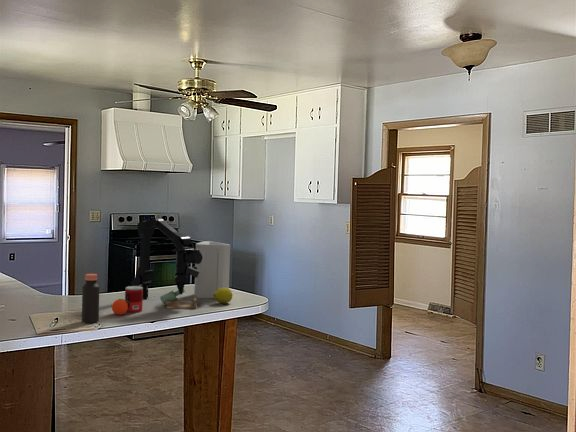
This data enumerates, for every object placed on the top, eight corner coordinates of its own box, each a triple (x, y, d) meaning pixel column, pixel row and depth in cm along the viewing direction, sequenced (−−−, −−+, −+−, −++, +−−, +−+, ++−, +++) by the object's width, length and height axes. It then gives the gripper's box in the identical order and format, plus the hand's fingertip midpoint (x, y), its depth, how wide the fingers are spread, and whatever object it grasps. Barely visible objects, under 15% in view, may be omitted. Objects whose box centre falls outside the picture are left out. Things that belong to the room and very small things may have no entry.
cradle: (166, 308, 282) (166, 300, 282) (166, 303, 295) (167, 295, 295) (196, 308, 285) (196, 300, 284) (195, 303, 297) (196, 295, 297)
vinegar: (96, 323, 248) (97, 276, 247) (79, 323, 247) (80, 275, 246) (100, 320, 254) (101, 273, 253) (84, 319, 254) (85, 273, 253)
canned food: (145, 310, 277) (146, 286, 276) (135, 313, 269) (136, 289, 269) (131, 308, 279) (132, 285, 279) (121, 311, 272) (121, 287, 271)
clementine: (123, 311, 272) (124, 296, 271) (132, 314, 267) (133, 298, 267) (108, 314, 266) (108, 298, 265) (117, 317, 261) (118, 301, 261)
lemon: (229, 301, 305) (229, 285, 305) (235, 304, 299) (236, 288, 298) (209, 302, 300) (210, 287, 299) (216, 305, 293) (216, 289, 293)
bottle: (159, 297, 286) (181, 286, 287) (160, 296, 290) (182, 285, 292) (164, 305, 286) (185, 294, 288) (164, 304, 291) (186, 293, 292)
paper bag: (185, 294, 320) (187, 242, 318) (208, 291, 330) (209, 241, 328) (206, 300, 306) (207, 245, 304) (229, 297, 316) (231, 244, 314)
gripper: (199, 264, 281) (198, 297, 282) (198, 259, 299) (197, 290, 300) (175, 264, 279) (174, 297, 280) (175, 259, 297) (174, 290, 298)
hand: (181, 293), depth 289 cm, fingers closed on bottle, 2 cm apart
